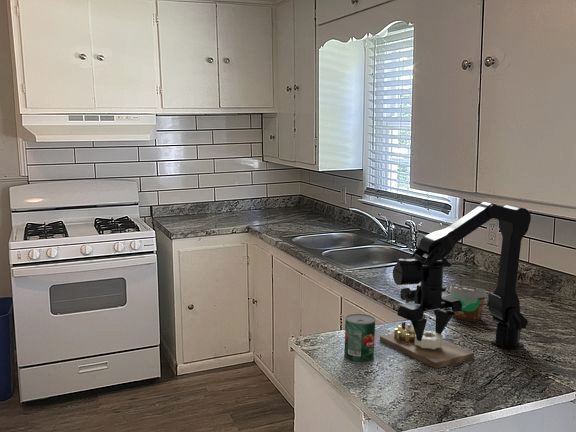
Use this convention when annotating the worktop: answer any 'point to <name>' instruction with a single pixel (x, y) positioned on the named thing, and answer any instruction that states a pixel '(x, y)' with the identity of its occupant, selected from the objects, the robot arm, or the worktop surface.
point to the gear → (405, 333)
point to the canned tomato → (359, 338)
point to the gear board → (430, 351)
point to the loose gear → (430, 340)
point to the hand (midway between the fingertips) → (428, 338)
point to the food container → (468, 302)
